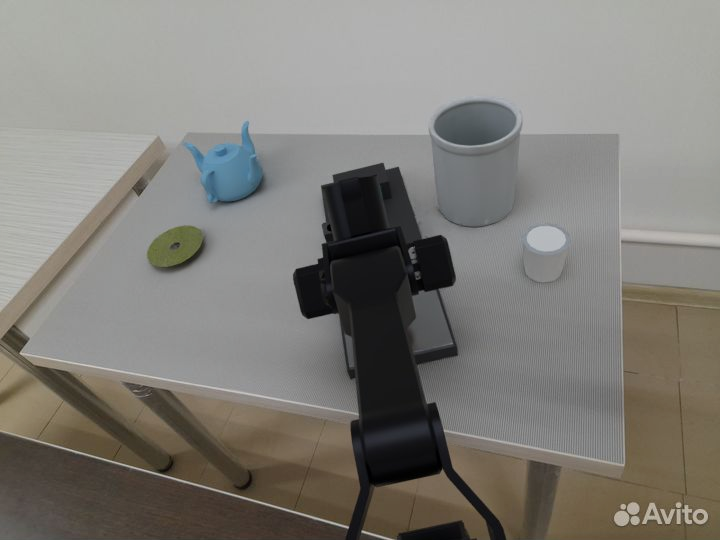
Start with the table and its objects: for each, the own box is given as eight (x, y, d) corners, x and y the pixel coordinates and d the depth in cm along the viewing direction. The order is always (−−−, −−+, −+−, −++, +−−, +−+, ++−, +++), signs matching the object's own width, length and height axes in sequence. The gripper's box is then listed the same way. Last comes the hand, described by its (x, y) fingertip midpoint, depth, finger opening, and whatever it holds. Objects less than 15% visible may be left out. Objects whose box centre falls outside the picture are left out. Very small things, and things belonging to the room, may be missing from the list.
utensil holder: (525, 180, 98) (530, 95, 85) (510, 235, 89) (512, 149, 76) (448, 173, 103) (442, 92, 91) (427, 224, 95) (416, 143, 82)
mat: (152, 242, 106) (147, 235, 105) (205, 225, 107) (201, 218, 105) (150, 280, 99) (145, 273, 97) (207, 262, 99) (203, 255, 98)
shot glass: (518, 283, 82) (519, 252, 77) (522, 251, 86) (524, 220, 81) (565, 288, 80) (569, 256, 75) (567, 255, 84) (571, 223, 79)
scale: (458, 355, 75) (455, 329, 71) (350, 379, 76) (340, 355, 71) (400, 176, 106) (395, 149, 101) (323, 194, 106) (315, 169, 102)
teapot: (207, 217, 109) (186, 178, 101) (201, 177, 119) (181, 139, 112) (274, 194, 110) (258, 153, 102) (262, 156, 120) (247, 117, 113)
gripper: (442, 184, 55) (428, 200, 70) (270, 225, 55) (294, 232, 71) (466, 288, 55) (447, 281, 70) (294, 327, 56) (313, 312, 71)
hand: (374, 274), depth 71 cm, fingers closed on cup, 7 cm apart
